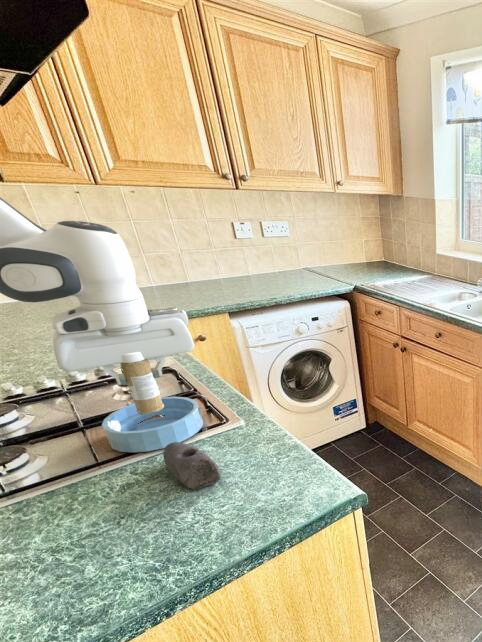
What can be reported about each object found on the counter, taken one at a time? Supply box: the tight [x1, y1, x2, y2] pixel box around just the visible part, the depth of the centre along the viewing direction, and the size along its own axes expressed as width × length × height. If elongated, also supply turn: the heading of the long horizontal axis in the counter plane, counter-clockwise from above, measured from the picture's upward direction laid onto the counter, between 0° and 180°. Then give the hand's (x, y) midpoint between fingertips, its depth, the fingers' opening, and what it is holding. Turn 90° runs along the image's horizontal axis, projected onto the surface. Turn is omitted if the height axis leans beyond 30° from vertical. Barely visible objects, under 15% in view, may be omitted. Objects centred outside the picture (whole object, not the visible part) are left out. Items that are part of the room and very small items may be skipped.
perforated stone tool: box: [163, 442, 221, 491], centre depth 77 cm, size 15×5×7 cm, turn 56°
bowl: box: [101, 396, 204, 454], centre depth 89 cm, size 16×16×6 cm
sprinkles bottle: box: [119, 352, 164, 414], centre depth 85 cm, size 5×5×13 cm
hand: (140, 380), depth 85 cm, fingers closed on sprinkles bottle, 4 cm apart
